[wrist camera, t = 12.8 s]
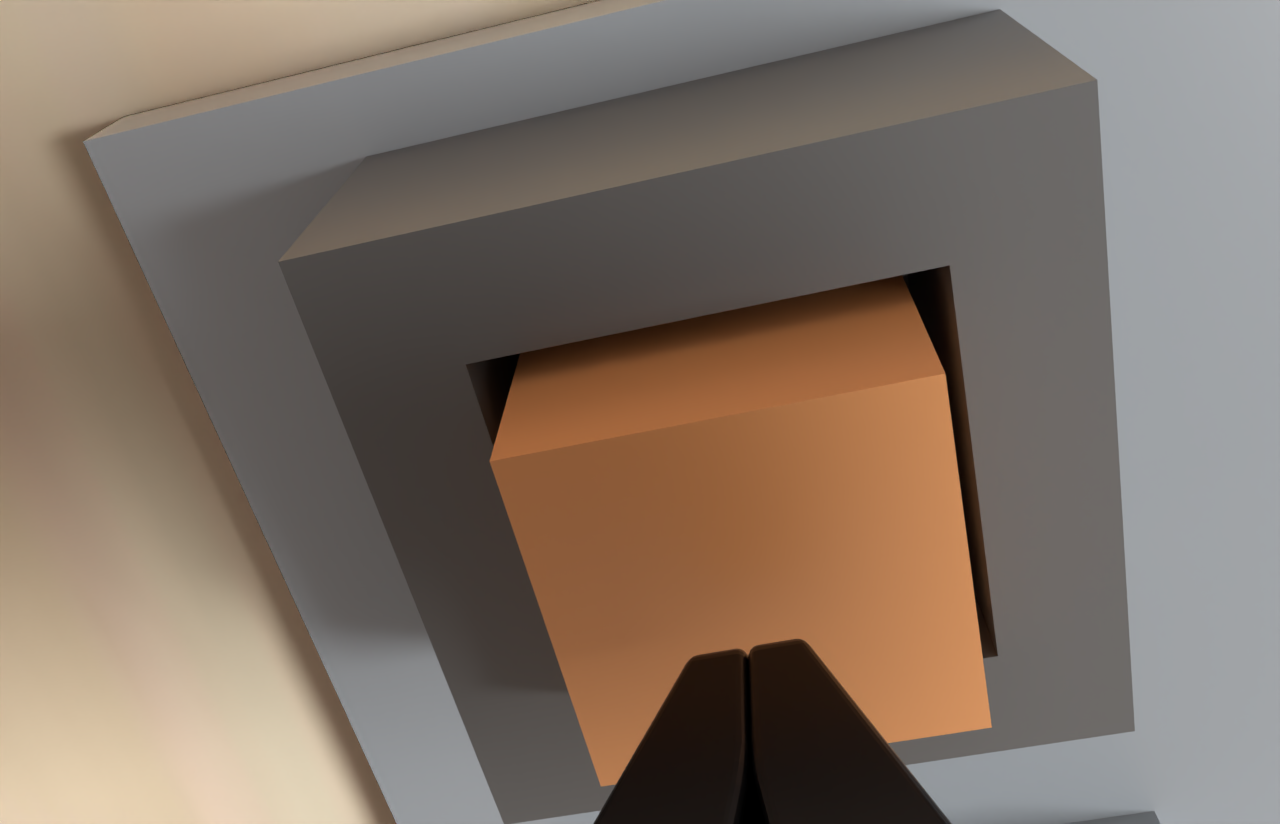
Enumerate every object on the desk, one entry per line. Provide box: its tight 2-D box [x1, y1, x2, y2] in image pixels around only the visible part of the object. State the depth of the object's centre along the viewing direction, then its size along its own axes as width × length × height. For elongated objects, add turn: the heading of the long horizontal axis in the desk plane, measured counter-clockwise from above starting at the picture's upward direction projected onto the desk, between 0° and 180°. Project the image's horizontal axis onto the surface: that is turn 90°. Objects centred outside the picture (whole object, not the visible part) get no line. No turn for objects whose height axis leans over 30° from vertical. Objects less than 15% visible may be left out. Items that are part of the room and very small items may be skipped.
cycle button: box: [490, 275, 992, 787], centre depth 11 cm, size 3×3×3 cm
